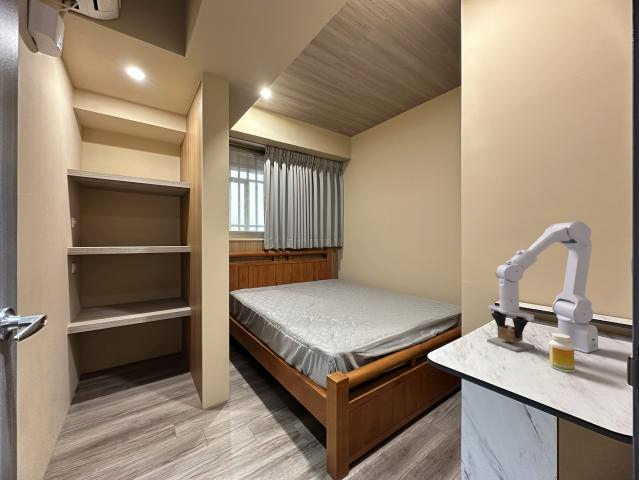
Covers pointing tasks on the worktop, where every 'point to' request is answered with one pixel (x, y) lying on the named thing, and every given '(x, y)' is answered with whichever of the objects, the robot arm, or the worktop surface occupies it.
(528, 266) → the robot arm
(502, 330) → the square ring
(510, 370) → the worktop surface
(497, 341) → the peg base
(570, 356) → the supplement bottle
